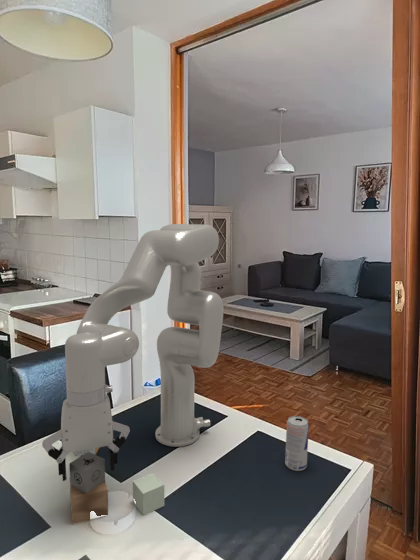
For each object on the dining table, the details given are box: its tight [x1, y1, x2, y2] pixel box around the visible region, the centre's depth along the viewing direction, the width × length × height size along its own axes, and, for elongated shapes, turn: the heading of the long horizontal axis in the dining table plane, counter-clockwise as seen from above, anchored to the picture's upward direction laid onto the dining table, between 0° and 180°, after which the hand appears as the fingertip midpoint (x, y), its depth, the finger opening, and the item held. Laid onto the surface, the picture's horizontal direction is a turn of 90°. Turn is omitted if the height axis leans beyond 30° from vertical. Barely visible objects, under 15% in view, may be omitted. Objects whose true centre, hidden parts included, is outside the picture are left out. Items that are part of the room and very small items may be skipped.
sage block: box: [132, 472, 165, 516], centre depth 86 cm, size 5×5×5 cm
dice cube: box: [69, 452, 106, 494], centre depth 84 cm, size 5×5×5 cm
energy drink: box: [284, 415, 310, 472], centre depth 100 cm, size 5×5×12 cm
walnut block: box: [69, 480, 109, 525], centre depth 84 cm, size 7×7×6 cm
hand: (88, 471), depth 84 cm, fingers open, 9 cm apart
